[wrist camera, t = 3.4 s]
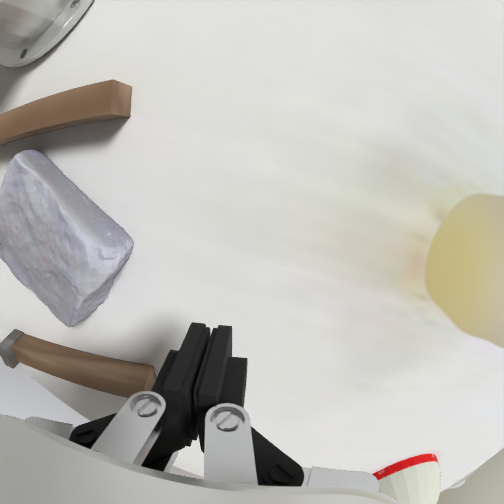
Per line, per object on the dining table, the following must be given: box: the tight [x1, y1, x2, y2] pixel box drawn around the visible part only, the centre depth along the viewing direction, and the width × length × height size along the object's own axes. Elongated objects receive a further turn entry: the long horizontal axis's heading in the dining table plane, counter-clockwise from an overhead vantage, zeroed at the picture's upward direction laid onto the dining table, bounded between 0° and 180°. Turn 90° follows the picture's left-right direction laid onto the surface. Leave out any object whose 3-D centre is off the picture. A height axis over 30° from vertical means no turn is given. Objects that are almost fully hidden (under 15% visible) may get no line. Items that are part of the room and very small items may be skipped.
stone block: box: [0, 149, 134, 327], centre depth 17 cm, size 12×5×10 cm
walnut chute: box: [0, 80, 156, 398], centre depth 17 cm, size 23×18×4 cm
